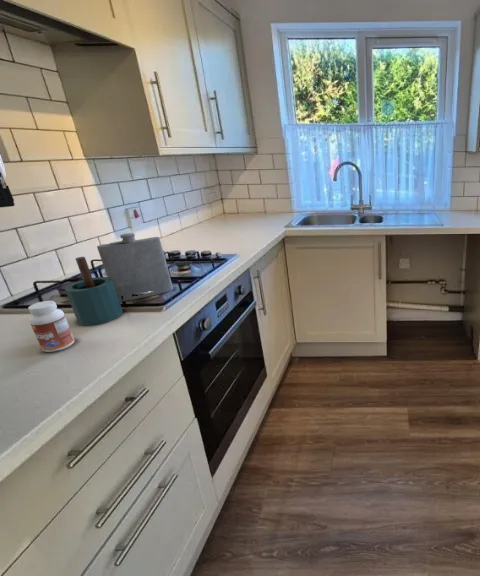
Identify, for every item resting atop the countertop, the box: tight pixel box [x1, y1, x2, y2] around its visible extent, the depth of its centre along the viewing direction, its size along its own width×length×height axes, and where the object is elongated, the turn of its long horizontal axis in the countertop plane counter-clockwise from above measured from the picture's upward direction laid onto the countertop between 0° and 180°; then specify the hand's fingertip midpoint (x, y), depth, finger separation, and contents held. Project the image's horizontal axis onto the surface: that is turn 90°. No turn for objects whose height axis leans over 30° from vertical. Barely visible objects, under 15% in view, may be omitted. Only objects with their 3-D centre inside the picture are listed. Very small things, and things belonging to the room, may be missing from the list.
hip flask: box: [96, 232, 174, 303], centre depth 111 cm, size 16×4×20 cm, turn 126°
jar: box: [64, 276, 124, 326], centre depth 100 cm, size 10×10×10 cm
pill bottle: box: [27, 300, 75, 353], centre depth 85 cm, size 6×6×11 cm
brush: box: [75, 256, 95, 288], centre depth 98 cm, size 5×5×17 cm
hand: (5, 204), depth 87 cm, fingers open, 9 cm apart
